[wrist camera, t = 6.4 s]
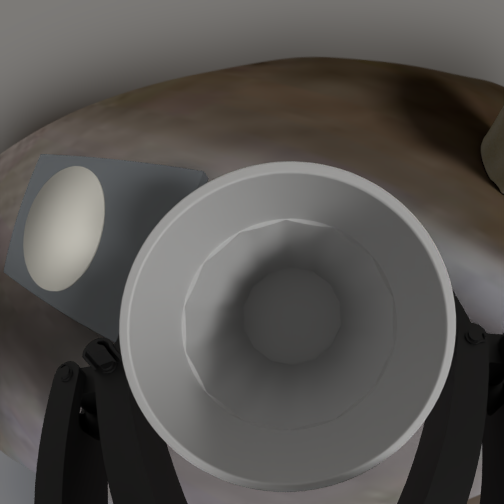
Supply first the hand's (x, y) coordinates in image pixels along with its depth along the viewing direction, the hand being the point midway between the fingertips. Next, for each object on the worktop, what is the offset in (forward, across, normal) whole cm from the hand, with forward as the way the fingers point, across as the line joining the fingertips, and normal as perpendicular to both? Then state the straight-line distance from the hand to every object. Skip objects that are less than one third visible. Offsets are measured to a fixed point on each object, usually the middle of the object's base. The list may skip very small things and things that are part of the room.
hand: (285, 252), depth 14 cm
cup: (+1, 0, -6) cm, 6 cm away
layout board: (+6, -17, 0) cm, 18 cm away
